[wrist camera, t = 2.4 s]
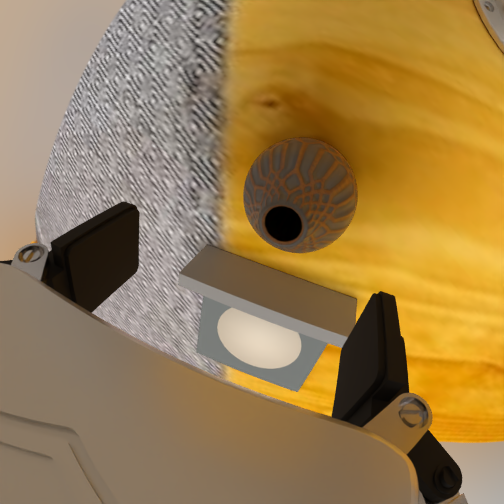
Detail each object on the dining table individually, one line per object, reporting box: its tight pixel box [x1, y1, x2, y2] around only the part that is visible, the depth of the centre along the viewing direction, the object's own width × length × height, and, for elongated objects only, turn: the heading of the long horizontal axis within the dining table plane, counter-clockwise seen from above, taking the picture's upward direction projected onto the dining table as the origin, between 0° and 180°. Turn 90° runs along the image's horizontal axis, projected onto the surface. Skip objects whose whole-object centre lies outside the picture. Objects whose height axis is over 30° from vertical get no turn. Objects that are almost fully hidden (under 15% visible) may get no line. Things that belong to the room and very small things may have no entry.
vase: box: [244, 137, 357, 253], centre depth 17 cm, size 7×7×9 cm
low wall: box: [178, 245, 357, 348], centre depth 24 cm, size 1×14×5 cm, turn 78°
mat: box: [197, 296, 327, 392], centre depth 30 cm, size 13×13×1 cm
